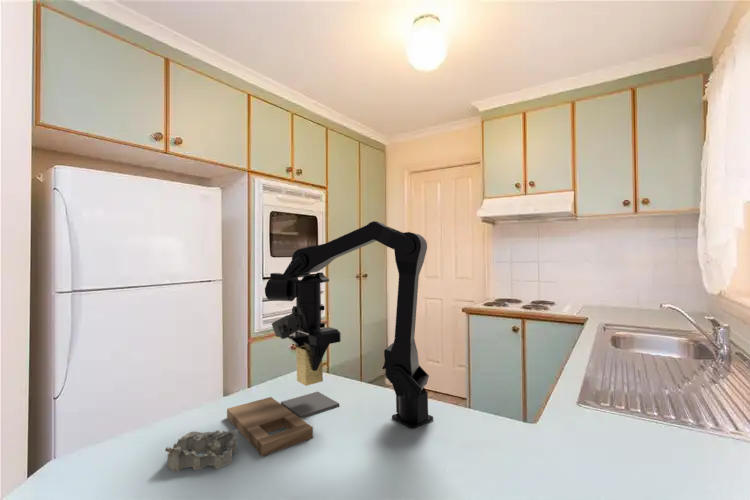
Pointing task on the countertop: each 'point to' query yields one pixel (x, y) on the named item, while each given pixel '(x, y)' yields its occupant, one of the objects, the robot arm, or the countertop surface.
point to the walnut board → (269, 425)
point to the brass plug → (307, 367)
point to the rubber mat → (309, 404)
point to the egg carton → (199, 443)
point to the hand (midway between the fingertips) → (309, 368)
